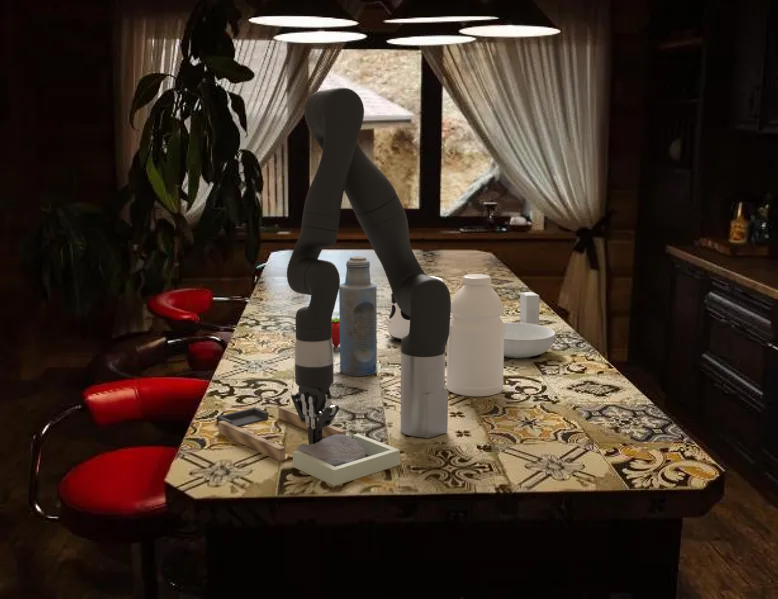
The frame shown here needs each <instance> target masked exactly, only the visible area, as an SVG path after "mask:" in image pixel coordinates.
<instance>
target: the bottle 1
mask: <svg viewBox="0 0 778 599" xmlns="http://www.w3.org/2000/svg"><path fill="white" fill-rule="evenodd" d="M345 266H346V273H345V280H344V282H343V283H340V287H339V291H338V296H339V298H338V300H339V313H338V315H339V319H340V344H339V361H340V362H339V368H340V370H339V371H340V372H341V373H342V374H344V375H347V376H353V377H354V376H355V377H357V376H358V377H360V376H362V377H363V376H370V375H372V374H375V373H377V370H378V365H377V364H378V362H377V361H378V359H377V358H378V357H377V356H378V349H377V348H378V347H377V345H378V337H377V332H378V331H377V329H378V328H377V324H378V320H377V319H378V318H377V312H378V311H377V310H378V309H377V304H378V303H377V302H378V301H377V299H378V298H377V297H378V296H377V295H378V292H377V288H378V286H377V285H376V283H373V282H372V281H371V280H372V279H371V271H370V268H371V267H370V266H371V264H370V261H369V259H367V257H365V256H359V255H358V256H357V255H355V256H350V257H349V259H348V260H347V261H346V265H345Z"/></svg>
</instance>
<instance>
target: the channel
mask: <svg viewBox="0 0 778 599" xmlns="http://www.w3.org/2000/svg"><path fill="white" fill-rule="evenodd" d="M277 408H278V410H277V412H278V414H277V415H278V416H277V417H278V419H280V420H282V421H284V422H287V423H289V424H291V425H294V426H297V427H299V428H302V429H303V430H306V431H308V427H307V426H306V423H305V422H302V421H301V420H300V417H299V415H298V413H297V410H294V409H290V408H288V407H286V406H283V405H281V406H277ZM218 434H220V435H222V436H223V437H226V438H229V439H231V440H233V441H235V442H237V443H240V444H241V445H243V446H245V447H248V448H250V449H252V450H254V451H257V452H259V453H260V454H263V455H265V456H267V457H270V458H271V459H274V460H276V461H278V462H283V461H285V460H286V449H285V448H286V447H284V446H282V445H279V444H277V443H275V442H273V441H270V440H268V439H266V438H264V437H261V436H260V435H257V434H254V433H252V432H250V431H248V430H246V429H243V428H241V427H240V426H238V427H237V426H235V425H232V424H230V423H228V422H226V421H220V422H219V424H218ZM338 434H341V435H345V436H347V432H346V430H345V429H342V428H340V427H337V426H334V425H332V424H330V425H329V426H326V427H323V428H322V438H327V437H330V436H332V435H338Z"/></svg>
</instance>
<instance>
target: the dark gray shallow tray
mask: <svg viewBox="0 0 778 599" xmlns="http://www.w3.org/2000/svg"><path fill="white" fill-rule="evenodd" d="M265 420H269V412H268V411H266V410H263V409H261V408H259V407H251V408H246V409H241V410H238V411H234V412H230V413H225V414H221V415H217V416H216V424H218V425H219V422H220V421H226V422H228V423H230V424H232V425H235V426H237V427H242V426H246V425H251V424H254V423H258V422H261V421H265Z"/></svg>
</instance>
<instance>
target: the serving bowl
mask: <svg viewBox="0 0 778 599" xmlns="http://www.w3.org/2000/svg"><path fill="white" fill-rule="evenodd" d="M504 323H505V337H504V357H505V358H514V359H525V358H530V357H535V356H539V355H542V354H544V353H545V352H547V351H548V350H550V348H551V347H553V344H554V342H555V338H556V331H555V330H553V329H552V328H550V327H547V326H544V325H540V324H539V325H535V324H528V323H520V322H504Z"/></svg>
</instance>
